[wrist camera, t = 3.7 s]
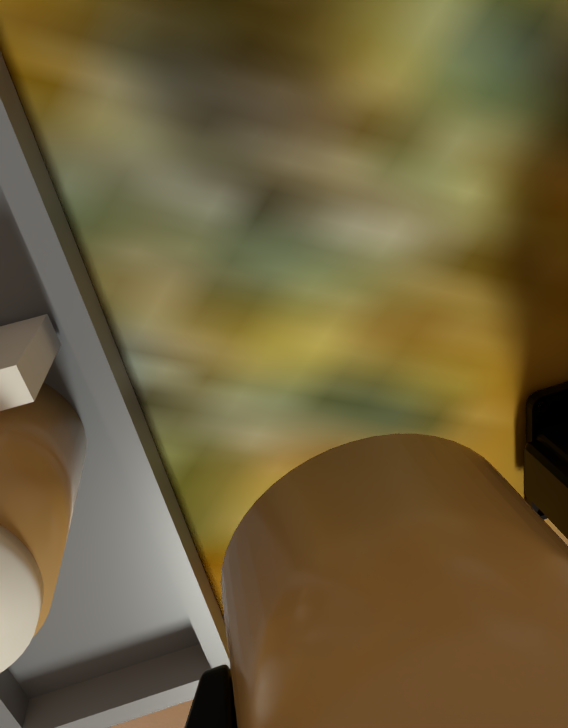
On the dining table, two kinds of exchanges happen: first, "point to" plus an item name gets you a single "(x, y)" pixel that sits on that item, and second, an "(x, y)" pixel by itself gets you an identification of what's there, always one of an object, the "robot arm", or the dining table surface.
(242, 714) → the amber jar
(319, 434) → the dining table surface
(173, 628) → the tray
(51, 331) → the pusher
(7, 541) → the amber jar
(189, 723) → the robot arm
